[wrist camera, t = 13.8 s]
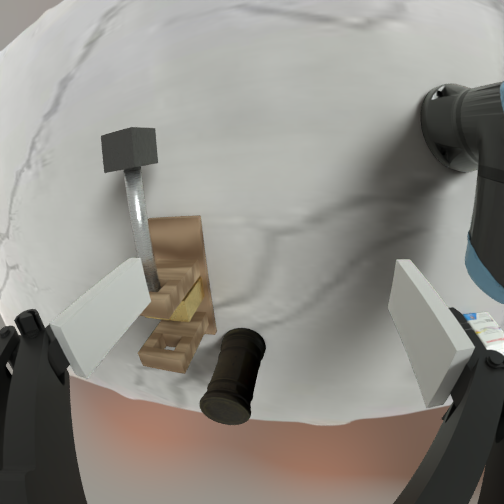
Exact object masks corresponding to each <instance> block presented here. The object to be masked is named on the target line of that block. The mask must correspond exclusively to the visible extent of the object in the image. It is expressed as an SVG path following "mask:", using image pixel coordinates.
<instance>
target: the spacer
mask: <svg viewBox="0 0 504 504" xmlns="http://www.w3.org/2000/svg"><path fill="white" fill-rule="evenodd" d="M204 297H205V294H204V288H203V281H202V277H199V278H198V279H197V280H196V282H195V283H194V285H193V286H192V287H191V289H190V290H189V291H188V293H187V294H186V296H185V297H184V298H183V300H182V301H181V303H180V304H179V306H178V307H177V308H176V310H175V311H174V313H173V314H172V315H171V317H170V318H169V319H164V318H155V317H147V316H145V317H147V318H155V319H163V320H172V321H181V322H190V320H191V318H192V317H193V315H194V313H195V312H196V310H197V308H198V307H199V305H200V303H201V302H202V300H203V298H204Z"/></svg>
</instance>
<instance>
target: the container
mask: <svg viewBox="0 0 504 504" xmlns="http://www.w3.org/2000/svg"><path fill="white" fill-rule="evenodd" d="M265 350H266V345H265V341H264V339H263V338H262V337H261V336H260V335H259V334H258V333H257V332H255V331H253V330H250V329H246V328H237V329H233V330H231V331H229V332H228V333H227V334H226V335H225V336H224V338H223V341H222V345H221V352H220V354H219V358H218V363H217V365H216V368H215V371H214V373H213V376H212V379H211V381H210V383H209V384H208V387H207V392H206V393H205V394H204V396H203V397H202V398H201V400H200V409H201V411H202V412H203V413H204V414H205V415H206V416H207V417H208V418H210V419H212V420H213V421H216V422H218V423H222V424H227V425H239V424H242V423H245V422H246V421H248V419H249V418H250V416H251V410H250V409H251V405H250V403H251V401H252V399H253V392H254V387H255V383H256V378H257V374H258V370H259V367H260V361H261V360H262V359H263V356H264V353H265Z"/></svg>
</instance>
